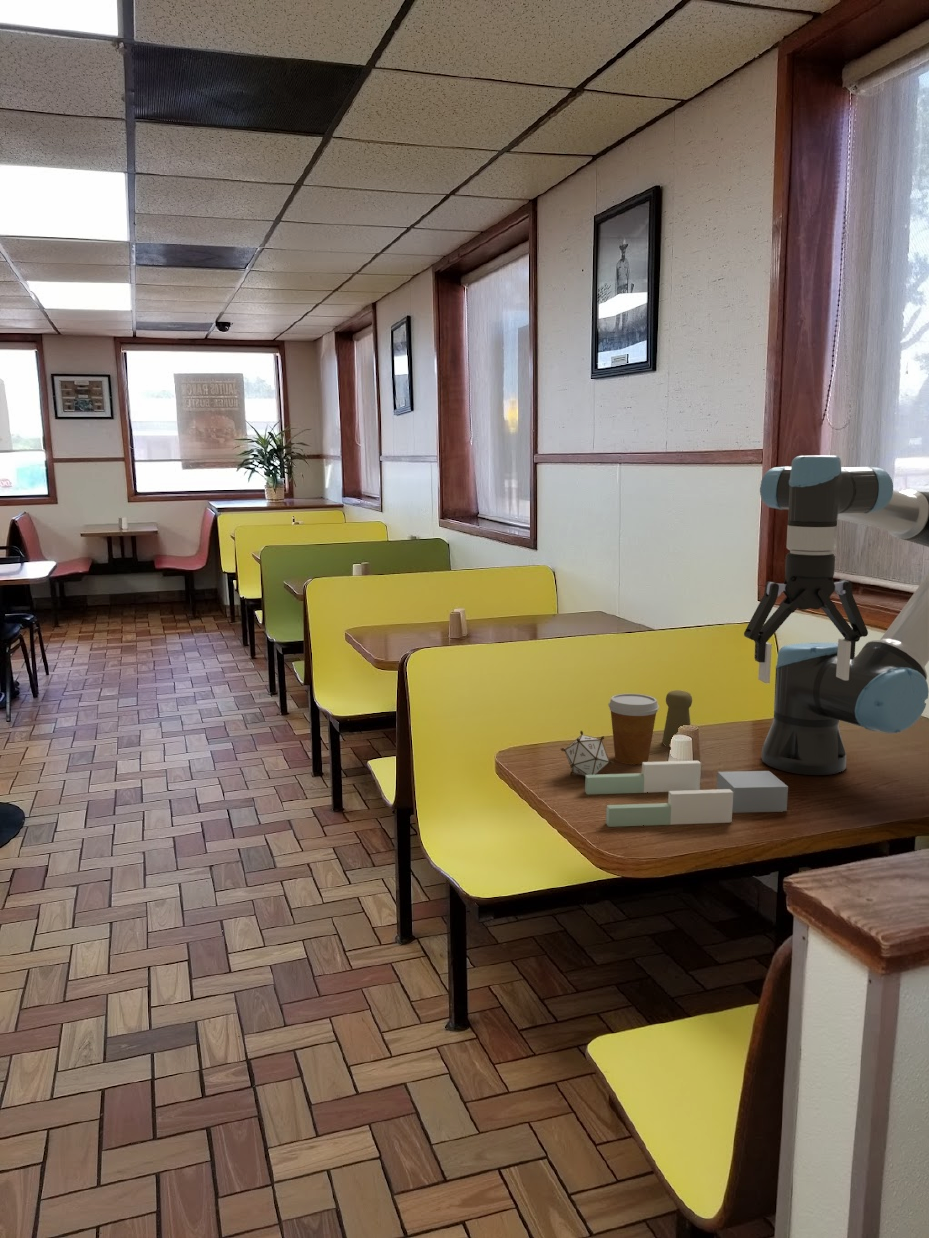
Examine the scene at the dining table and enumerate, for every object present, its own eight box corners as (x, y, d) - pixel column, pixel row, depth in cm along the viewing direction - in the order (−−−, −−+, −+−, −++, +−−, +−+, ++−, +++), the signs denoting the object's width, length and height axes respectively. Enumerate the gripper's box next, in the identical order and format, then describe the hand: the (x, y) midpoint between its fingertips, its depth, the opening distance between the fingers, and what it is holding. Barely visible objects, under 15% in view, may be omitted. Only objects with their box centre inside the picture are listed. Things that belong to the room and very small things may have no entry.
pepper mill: (655, 744, 189) (658, 691, 187) (672, 738, 193) (674, 686, 192) (681, 750, 185) (684, 696, 183) (698, 744, 189) (700, 691, 187)
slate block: (767, 795, 161) (769, 770, 160) (786, 812, 153) (788, 786, 152) (716, 796, 160) (717, 771, 159) (732, 814, 152) (734, 787, 151)
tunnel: (696, 787, 164) (698, 760, 163) (731, 822, 148) (733, 792, 147) (584, 791, 162) (585, 763, 161) (608, 826, 146) (609, 796, 145)
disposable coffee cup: (596, 758, 179) (598, 698, 178) (627, 749, 186) (629, 690, 184) (635, 771, 172) (638, 708, 170) (667, 760, 179) (669, 699, 177)
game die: (583, 800, 168) (563, 765, 162) (567, 770, 175) (547, 735, 169) (626, 776, 168) (608, 740, 162) (609, 747, 175) (590, 711, 169)
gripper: (870, 548, 156) (862, 672, 159) (727, 551, 153) (722, 677, 157) (896, 552, 148) (887, 682, 152) (746, 555, 146) (740, 687, 149)
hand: (803, 680), depth 154 cm, fingers open, 13 cm apart
